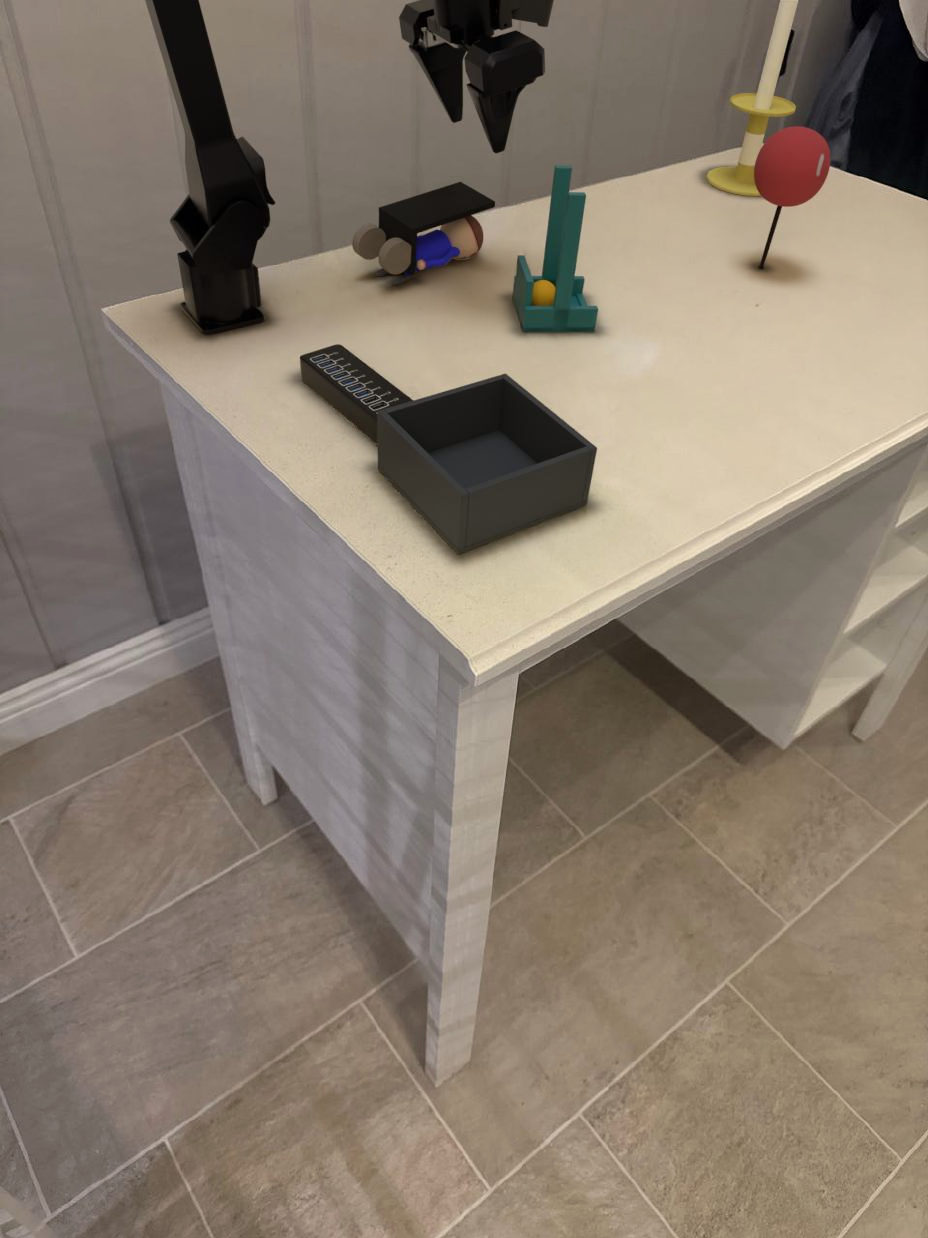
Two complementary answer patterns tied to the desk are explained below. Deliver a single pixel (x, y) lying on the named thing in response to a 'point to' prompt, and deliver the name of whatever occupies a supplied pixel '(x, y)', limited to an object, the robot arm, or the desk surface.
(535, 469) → the bin
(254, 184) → the robot arm
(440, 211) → the figurine character
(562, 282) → the tray with tall posts
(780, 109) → the candle
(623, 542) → the desk surface
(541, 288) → the toy ball
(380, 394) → the multiport hub
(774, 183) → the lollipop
